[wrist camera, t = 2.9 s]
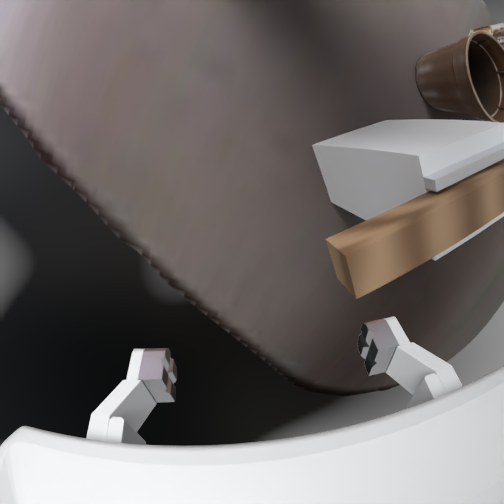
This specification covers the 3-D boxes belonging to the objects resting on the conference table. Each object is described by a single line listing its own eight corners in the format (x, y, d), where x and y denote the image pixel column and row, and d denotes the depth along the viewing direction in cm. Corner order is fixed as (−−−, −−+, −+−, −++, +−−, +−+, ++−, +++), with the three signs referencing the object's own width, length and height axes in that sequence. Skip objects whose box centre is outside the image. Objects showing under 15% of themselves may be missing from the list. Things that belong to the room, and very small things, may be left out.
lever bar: (336, 277, 23) (356, 299, 20) (325, 239, 22) (345, 256, 18) (510, 183, 23) (533, 190, 20) (507, 153, 22) (531, 158, 18)
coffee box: (478, 70, 42) (531, 68, 27) (462, 50, 40) (516, 42, 26) (485, 48, 40) (534, 43, 25) (470, 28, 38) (519, 19, 23)
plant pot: (441, 138, 47) (502, 146, 32) (391, 75, 42) (453, 61, 27) (470, 90, 44) (526, 90, 29) (427, 31, 39) (483, 15, 24)
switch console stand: (331, 204, 48) (455, 278, 22) (311, 145, 45) (442, 159, 18) (403, 174, 48) (535, 217, 22) (388, 119, 45) (528, 124, 18)
